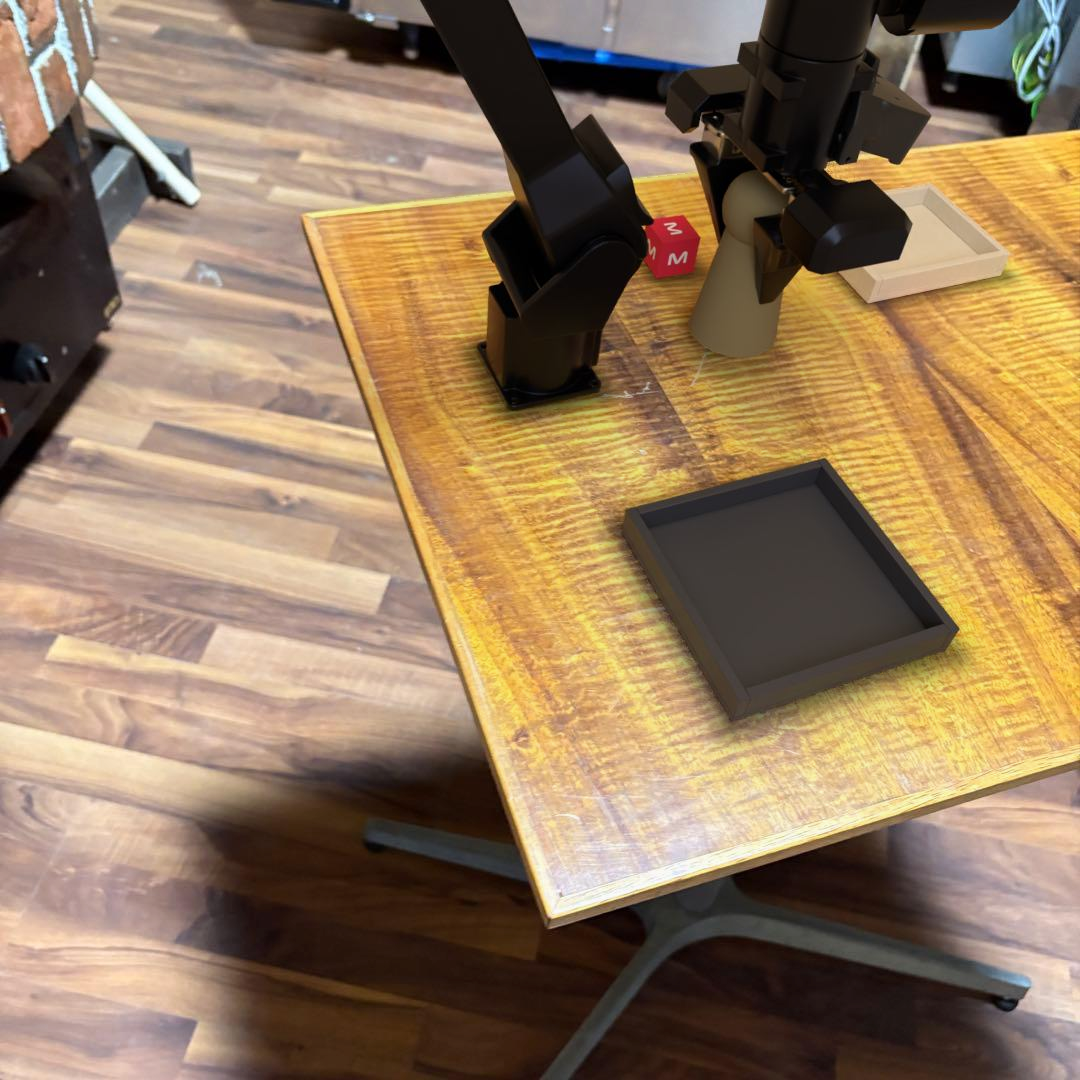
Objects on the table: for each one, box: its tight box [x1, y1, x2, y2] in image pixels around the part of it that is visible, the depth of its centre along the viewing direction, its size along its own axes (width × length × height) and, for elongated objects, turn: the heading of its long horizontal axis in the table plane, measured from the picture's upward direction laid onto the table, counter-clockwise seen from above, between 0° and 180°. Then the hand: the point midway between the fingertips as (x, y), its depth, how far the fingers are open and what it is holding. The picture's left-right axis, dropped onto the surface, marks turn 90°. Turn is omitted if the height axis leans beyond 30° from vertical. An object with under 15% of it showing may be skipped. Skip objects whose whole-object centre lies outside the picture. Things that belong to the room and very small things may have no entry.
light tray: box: [838, 182, 1012, 304], centre depth 79 cm, size 12×10×2 cm
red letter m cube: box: [643, 214, 701, 279], centre depth 75 cm, size 3×3×3 cm
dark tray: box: [621, 457, 961, 723], centre depth 56 cm, size 13×13×2 cm
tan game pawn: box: [687, 170, 791, 359], centre depth 66 cm, size 6×6×11 cm
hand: (747, 281), depth 67 cm, fingers closed on tan game pawn, 4 cm apart
